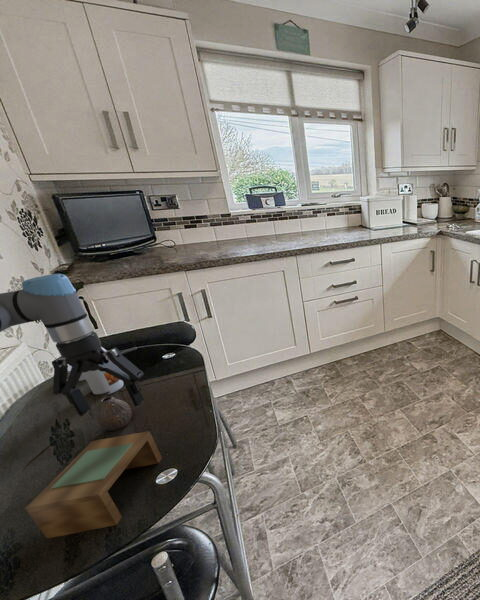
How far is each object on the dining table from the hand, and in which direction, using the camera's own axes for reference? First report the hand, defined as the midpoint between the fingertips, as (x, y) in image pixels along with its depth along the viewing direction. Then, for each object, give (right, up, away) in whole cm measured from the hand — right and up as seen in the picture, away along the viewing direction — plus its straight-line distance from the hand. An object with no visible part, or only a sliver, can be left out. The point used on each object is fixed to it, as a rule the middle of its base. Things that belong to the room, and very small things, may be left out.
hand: (112, 407), depth 87 cm
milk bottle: (-18, -1, +20) cm, 27 cm away
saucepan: (-30, +3, +33) cm, 45 cm away
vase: (0, -6, +2) cm, 6 cm away
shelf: (+17, -12, -19) cm, 28 cm away
